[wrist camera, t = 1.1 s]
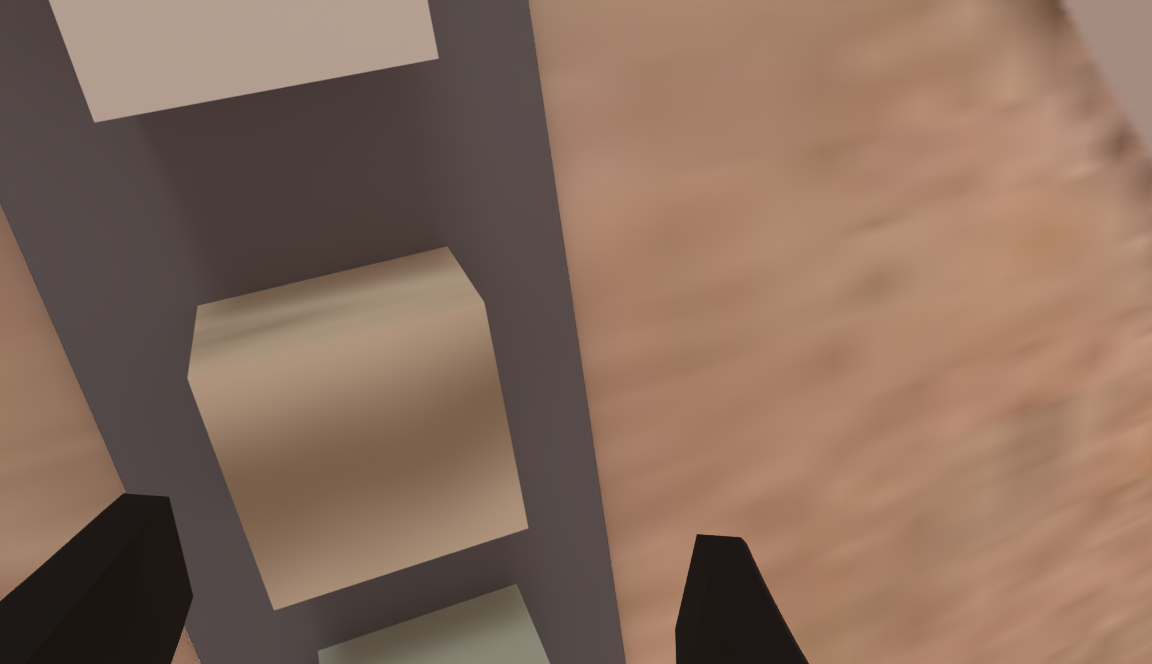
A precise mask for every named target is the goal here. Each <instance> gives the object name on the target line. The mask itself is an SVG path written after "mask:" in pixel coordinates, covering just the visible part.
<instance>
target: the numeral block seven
mask: <svg viewBox="0 0 1152 664" xmlns="http://www.w3.org/2000/svg"><path fill="white" fill-rule="evenodd" d="M318 657H319V664H550V662H549V660H548V657H547V655H546V653H545V650H544V648H543V646H542V643H541V641H540V638H539V636H538V634H537V631H536V629H535V627H534V624H533V622H532V619H531V617H530V615H529V612H528V610H527V607H526V605H525V603H524V600H523V598H522V596H521V593H520V591H519V588H518V586H517V584H514V585H511V586H508V587H506V588H503V589H500V590H497V591H494V592H491V593H488V594H485V595H482V596H479V597H476V598H473V599H470V600H467V601H464V602H461V603H458V604H455V605H452V606H449V607H446V608H443V609H440V610H437V611H434V612H431V613H429V614H426V615H423V616H420V617H417V618H414V619H411V620H408V621H405V622H402V623H399V624H396V625H393V626H390V627H387V628H384V629H381V630H378V631H375V632H372V633H369V634H366V635H363V636H360V637H357V638H354V639H352V640H349V641H346V642H343V643H340V644H337V645H334V646H331V647H328V648H325V649H322V650H319V651H318Z"/></svg>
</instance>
